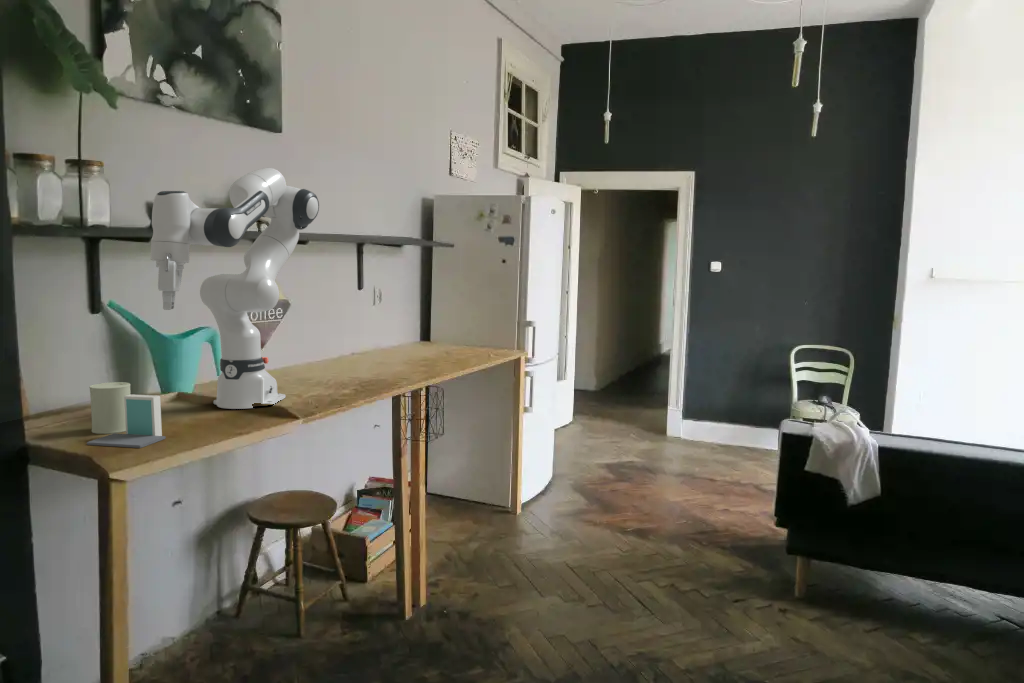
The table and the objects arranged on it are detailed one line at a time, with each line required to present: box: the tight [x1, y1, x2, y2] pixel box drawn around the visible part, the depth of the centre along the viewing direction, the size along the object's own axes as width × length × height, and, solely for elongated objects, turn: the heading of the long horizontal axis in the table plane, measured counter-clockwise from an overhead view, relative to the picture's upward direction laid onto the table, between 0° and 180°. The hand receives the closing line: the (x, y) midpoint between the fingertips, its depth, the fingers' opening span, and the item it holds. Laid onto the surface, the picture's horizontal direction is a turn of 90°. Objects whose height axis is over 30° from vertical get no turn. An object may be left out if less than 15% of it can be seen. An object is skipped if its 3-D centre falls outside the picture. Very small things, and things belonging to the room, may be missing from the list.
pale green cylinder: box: [89, 381, 131, 435], centre depth 184 cm, size 9×9×12 cm
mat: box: [86, 433, 166, 449], centre depth 172 cm, size 9×14×1 cm, turn 80°
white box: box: [124, 393, 163, 436], centre depth 178 cm, size 3×8×10 cm, turn 80°
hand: (168, 309), depth 183 cm, fingers open, 8 cm apart
